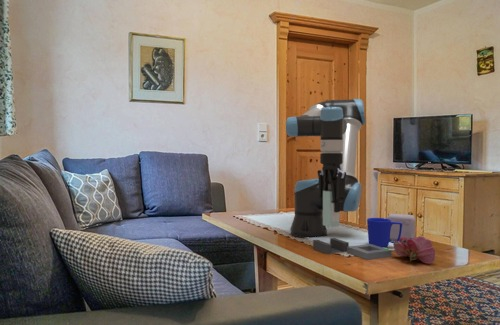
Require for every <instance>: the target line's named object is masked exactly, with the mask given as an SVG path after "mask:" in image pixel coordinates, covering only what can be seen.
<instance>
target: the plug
mask: <svg viewBox="0 0 500 325" xmlns="http://www.w3.org/2000/svg"><path fill="white" fill-rule="evenodd" d="M331 201H333V197H332V188H331V184H328V190H327V191H323V225H324V226H326V228H327V227H329V228H335V227H340V221H339V222H331V203H332V202H331Z"/></svg>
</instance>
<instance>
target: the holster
mask: <svg viewBox="0 0 500 325" xmlns="http://www.w3.org/2000/svg"><path fill="white" fill-rule="evenodd" d="M348 246H350V245H349V242H348V241H345V240H341V239H339V238H335V237H333V238H330V239H329V243H328V242H325V241H322V240H320V239H313V240H312V249H313V250H316V251H318V252H320V253H322V254H323V253H324V254H325V255H332V254H340V253H347V247H348Z"/></svg>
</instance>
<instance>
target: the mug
mask: <svg viewBox="0 0 500 325" xmlns="http://www.w3.org/2000/svg"><path fill="white" fill-rule="evenodd" d="M366 223H367V224H366V225H367V237H368V240H367V241H368V244H372V245H375V246H379V247H382V248H387V249H388V246H389V244H390V243H391V244H394V240H390V231H391V226H392V225H393V224H399V225H400V230H399V236H398V239H397V240H396V241H398V242H399V239H400V237H401V231H402V223H400V222H391V220H389V219H387V218H384V217H368V218H367V219H366Z"/></svg>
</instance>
